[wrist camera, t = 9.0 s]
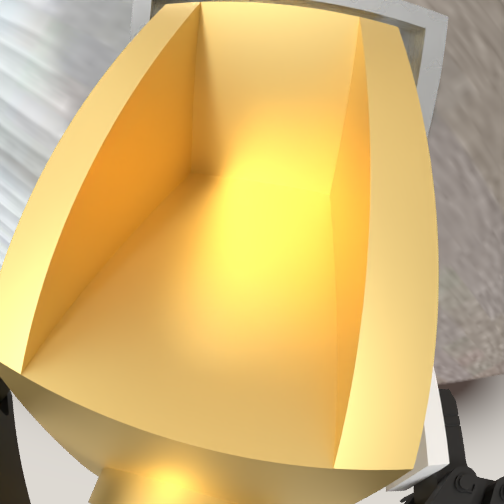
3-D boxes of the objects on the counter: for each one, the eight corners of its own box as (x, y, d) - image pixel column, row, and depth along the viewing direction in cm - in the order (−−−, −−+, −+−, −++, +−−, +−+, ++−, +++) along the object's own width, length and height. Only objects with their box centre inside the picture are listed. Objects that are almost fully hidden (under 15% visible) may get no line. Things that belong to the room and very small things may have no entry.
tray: (170, 330, 27) (156, 360, 25) (165, -7, 13) (135, -17, 10) (327, 362, 26) (325, 395, 23) (423, 24, 12) (448, 16, 9)
